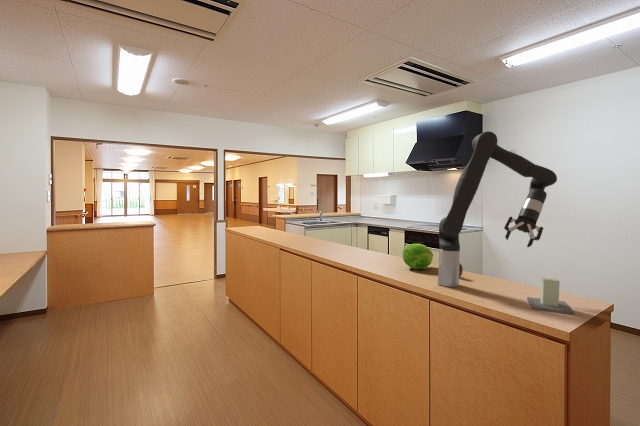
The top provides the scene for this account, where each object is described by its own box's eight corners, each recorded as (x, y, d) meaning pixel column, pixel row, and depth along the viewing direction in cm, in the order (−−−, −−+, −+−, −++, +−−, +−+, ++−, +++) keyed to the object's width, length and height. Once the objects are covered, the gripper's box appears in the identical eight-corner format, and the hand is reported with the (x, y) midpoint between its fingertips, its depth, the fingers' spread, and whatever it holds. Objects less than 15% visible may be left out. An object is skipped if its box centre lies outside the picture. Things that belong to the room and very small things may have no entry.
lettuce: (438, 272, 193) (443, 247, 192) (416, 273, 182) (421, 247, 180) (415, 264, 207) (420, 241, 205) (394, 265, 195) (398, 240, 194)
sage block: (542, 304, 127) (544, 279, 127) (540, 301, 132) (541, 276, 131) (558, 306, 125) (559, 281, 125) (555, 303, 130) (556, 278, 129)
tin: (438, 272, 184) (439, 258, 183) (443, 272, 185) (443, 257, 184) (458, 279, 169) (459, 263, 169) (463, 278, 171) (464, 263, 170)
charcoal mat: (532, 309, 125) (532, 306, 125) (527, 299, 137) (527, 297, 137) (573, 314, 120) (574, 311, 120) (564, 303, 132) (564, 301, 132)
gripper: (514, 203, 147) (501, 234, 145) (550, 213, 141) (537, 247, 138) (512, 208, 154) (499, 239, 152) (546, 219, 147) (533, 251, 145)
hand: (517, 243), depth 145 cm, fingers open, 8 cm apart
